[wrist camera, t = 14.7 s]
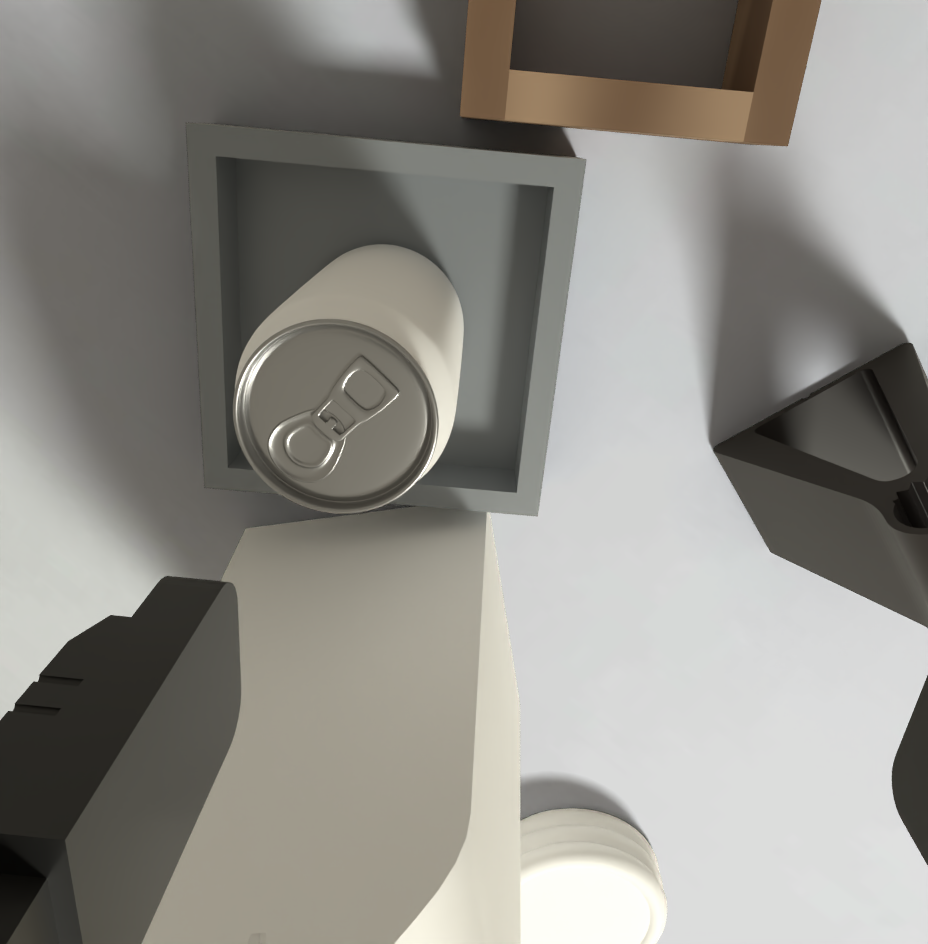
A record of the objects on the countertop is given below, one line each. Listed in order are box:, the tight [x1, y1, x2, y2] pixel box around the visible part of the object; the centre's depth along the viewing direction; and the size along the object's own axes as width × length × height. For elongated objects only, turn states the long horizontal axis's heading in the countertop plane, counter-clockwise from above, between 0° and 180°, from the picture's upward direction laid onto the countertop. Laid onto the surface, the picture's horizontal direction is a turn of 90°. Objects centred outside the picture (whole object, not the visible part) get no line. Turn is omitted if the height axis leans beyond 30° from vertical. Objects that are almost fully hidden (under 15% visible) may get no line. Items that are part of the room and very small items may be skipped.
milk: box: [142, 506, 521, 944], centre depth 27 cm, size 12×12×26 cm
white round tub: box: [520, 808, 667, 944], centre depth 44 cm, size 10×10×4 cm
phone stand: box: [713, 343, 928, 628], centre depth 29 cm, size 9×6×12 cm, turn 123°
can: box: [233, 244, 464, 514], centre depth 27 cm, size 6×6×12 cm
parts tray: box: [186, 123, 586, 516], centre depth 32 cm, size 14×14×3 cm
